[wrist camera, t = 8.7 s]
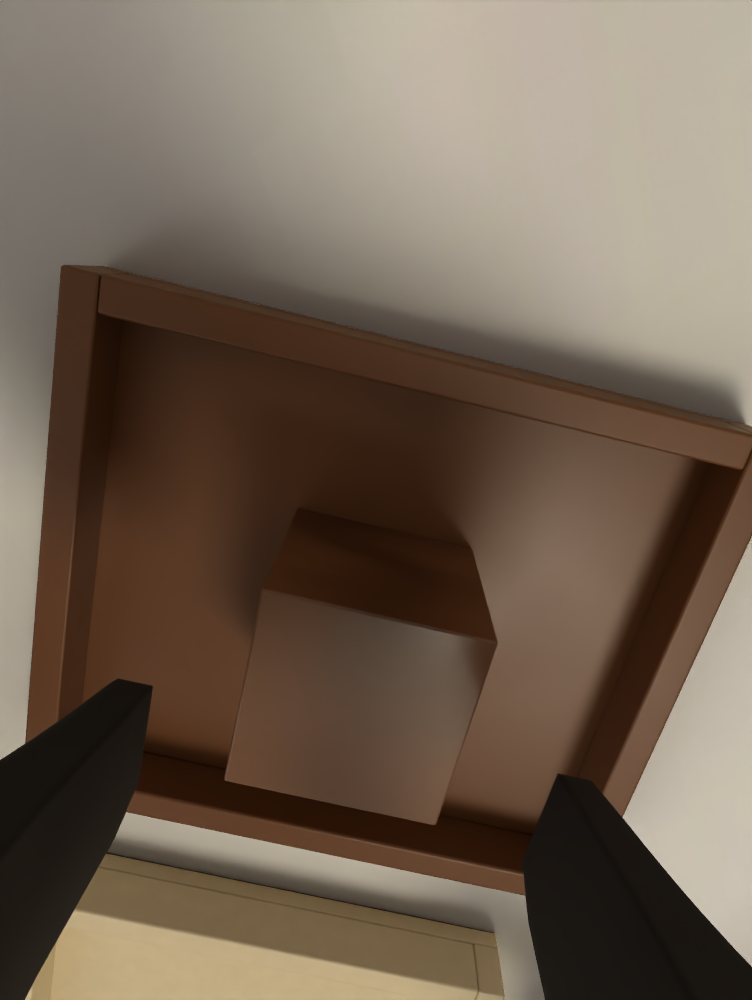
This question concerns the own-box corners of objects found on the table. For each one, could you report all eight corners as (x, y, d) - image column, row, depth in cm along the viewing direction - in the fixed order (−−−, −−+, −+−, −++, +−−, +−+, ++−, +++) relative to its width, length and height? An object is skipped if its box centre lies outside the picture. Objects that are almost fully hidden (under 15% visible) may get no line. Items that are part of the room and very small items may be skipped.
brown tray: (57, 741, 19) (20, 791, 18) (102, 265, 15) (59, 263, 13) (564, 849, 20) (581, 908, 18) (747, 424, 16) (795, 445, 14)
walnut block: (265, 659, 18) (222, 781, 13) (297, 507, 16) (261, 588, 12) (427, 696, 18) (436, 827, 14) (473, 547, 16) (499, 642, 12)
